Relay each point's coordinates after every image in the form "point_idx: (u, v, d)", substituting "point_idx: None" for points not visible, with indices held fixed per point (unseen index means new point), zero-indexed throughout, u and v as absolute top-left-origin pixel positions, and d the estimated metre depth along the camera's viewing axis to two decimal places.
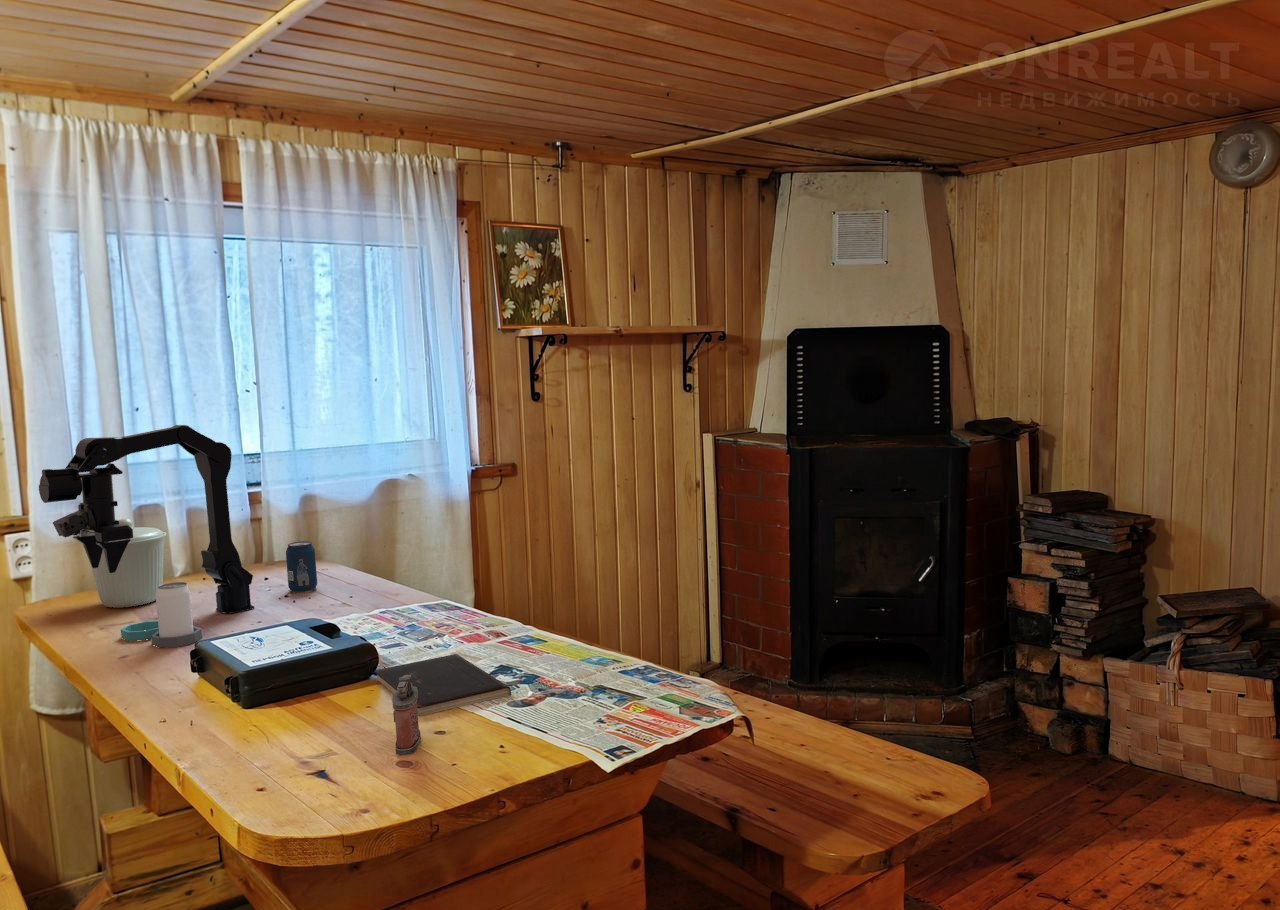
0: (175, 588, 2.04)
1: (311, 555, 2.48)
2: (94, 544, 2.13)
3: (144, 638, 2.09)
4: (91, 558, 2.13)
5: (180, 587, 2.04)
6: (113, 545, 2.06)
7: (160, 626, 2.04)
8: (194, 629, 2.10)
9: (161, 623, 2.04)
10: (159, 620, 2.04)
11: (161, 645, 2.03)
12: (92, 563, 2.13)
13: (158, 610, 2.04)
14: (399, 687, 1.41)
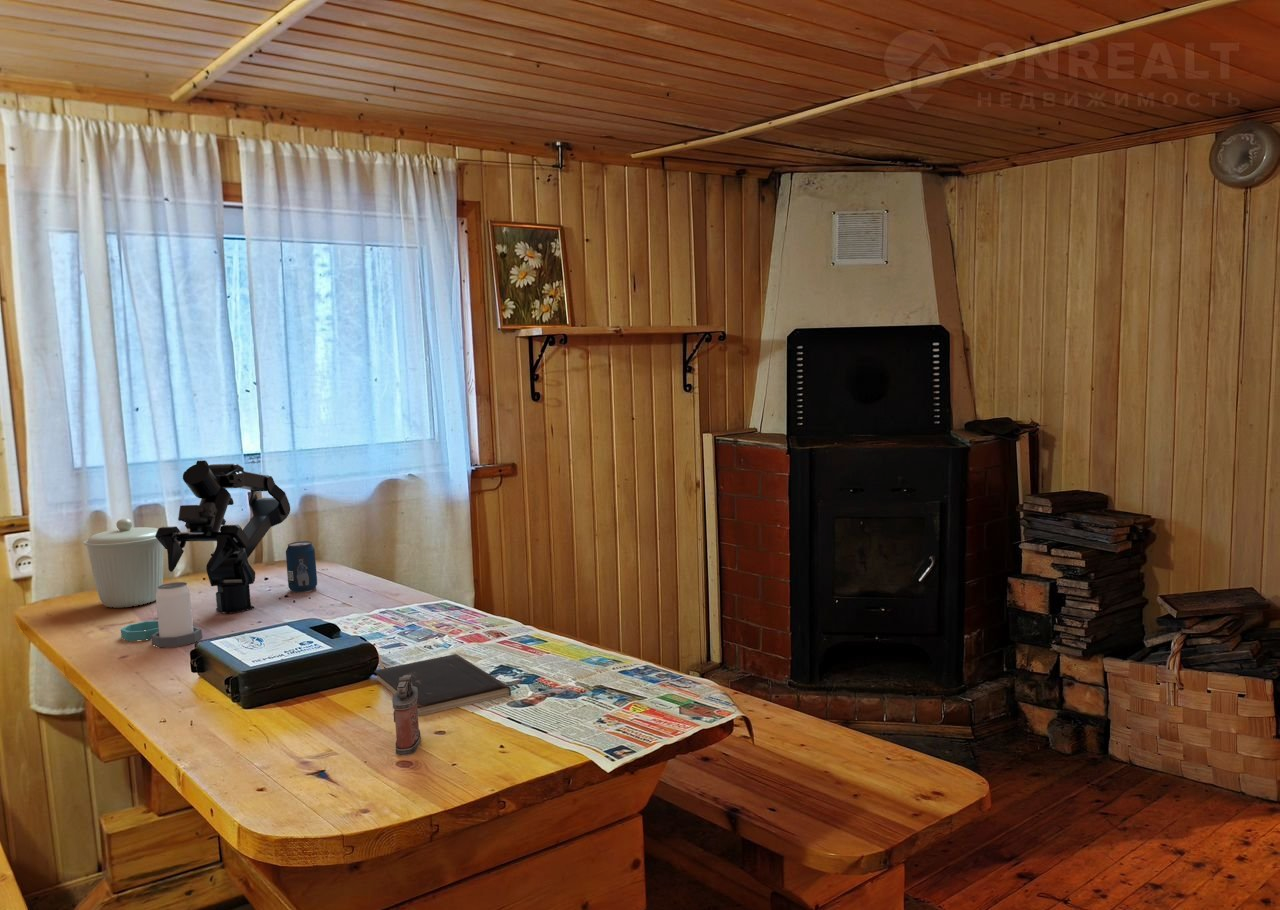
0: (175, 588, 2.04)
1: (311, 555, 2.48)
2: (176, 551, 2.17)
3: (144, 638, 2.09)
4: (172, 560, 2.15)
5: (180, 587, 2.04)
6: (224, 547, 2.17)
7: (160, 626, 2.04)
8: (194, 629, 2.10)
9: (161, 623, 2.04)
10: (159, 620, 2.04)
11: (161, 645, 2.03)
12: (171, 565, 2.14)
13: (158, 610, 2.04)
14: (399, 687, 1.41)
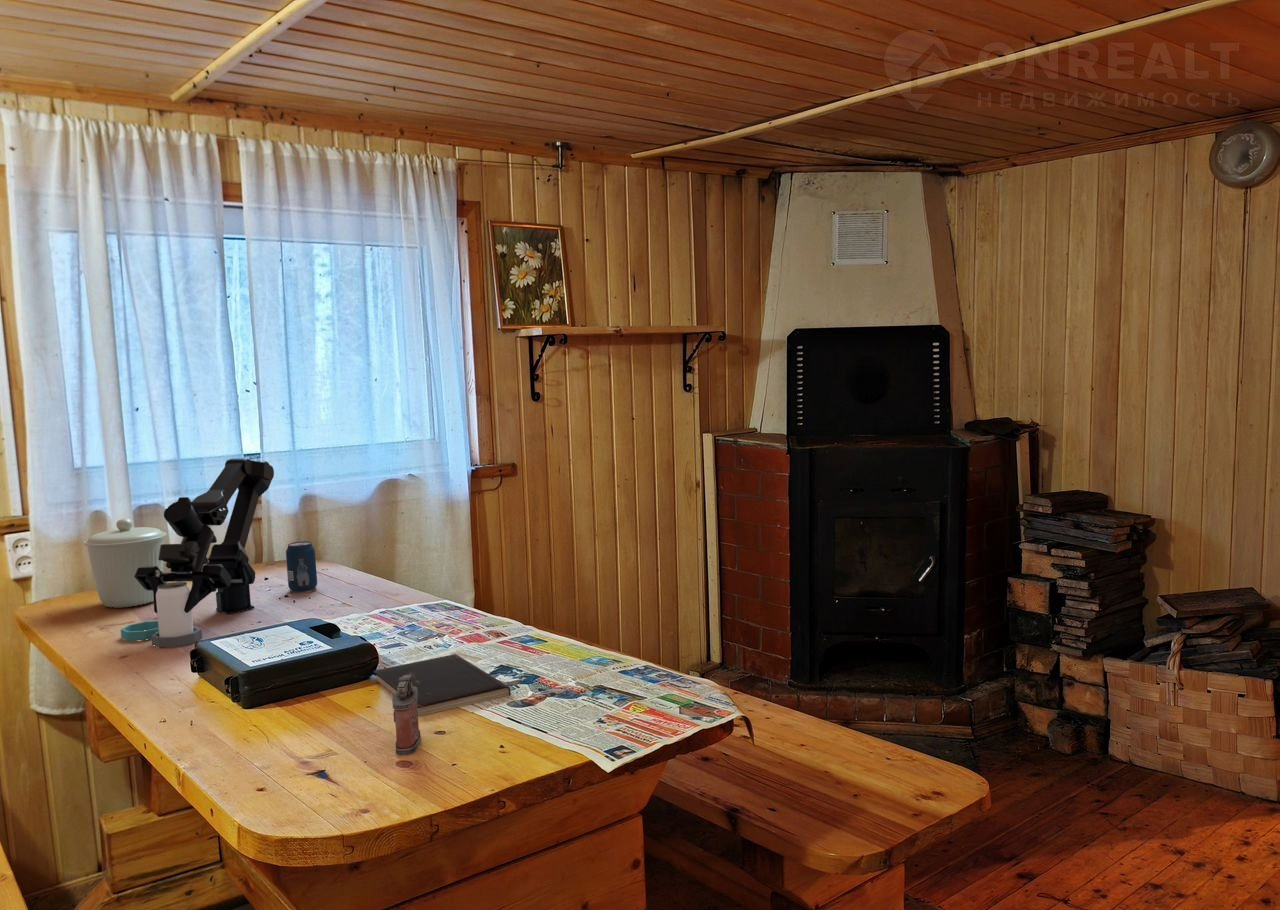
0: (175, 588, 2.04)
1: (311, 555, 2.48)
2: None
3: (144, 638, 2.09)
4: None
5: (180, 587, 2.04)
6: (200, 587, 2.09)
7: (160, 626, 2.04)
8: (194, 629, 2.10)
9: (161, 623, 2.04)
10: (159, 620, 2.04)
11: (161, 645, 2.03)
12: (156, 606, 2.06)
13: (158, 610, 2.04)
14: (399, 687, 1.41)
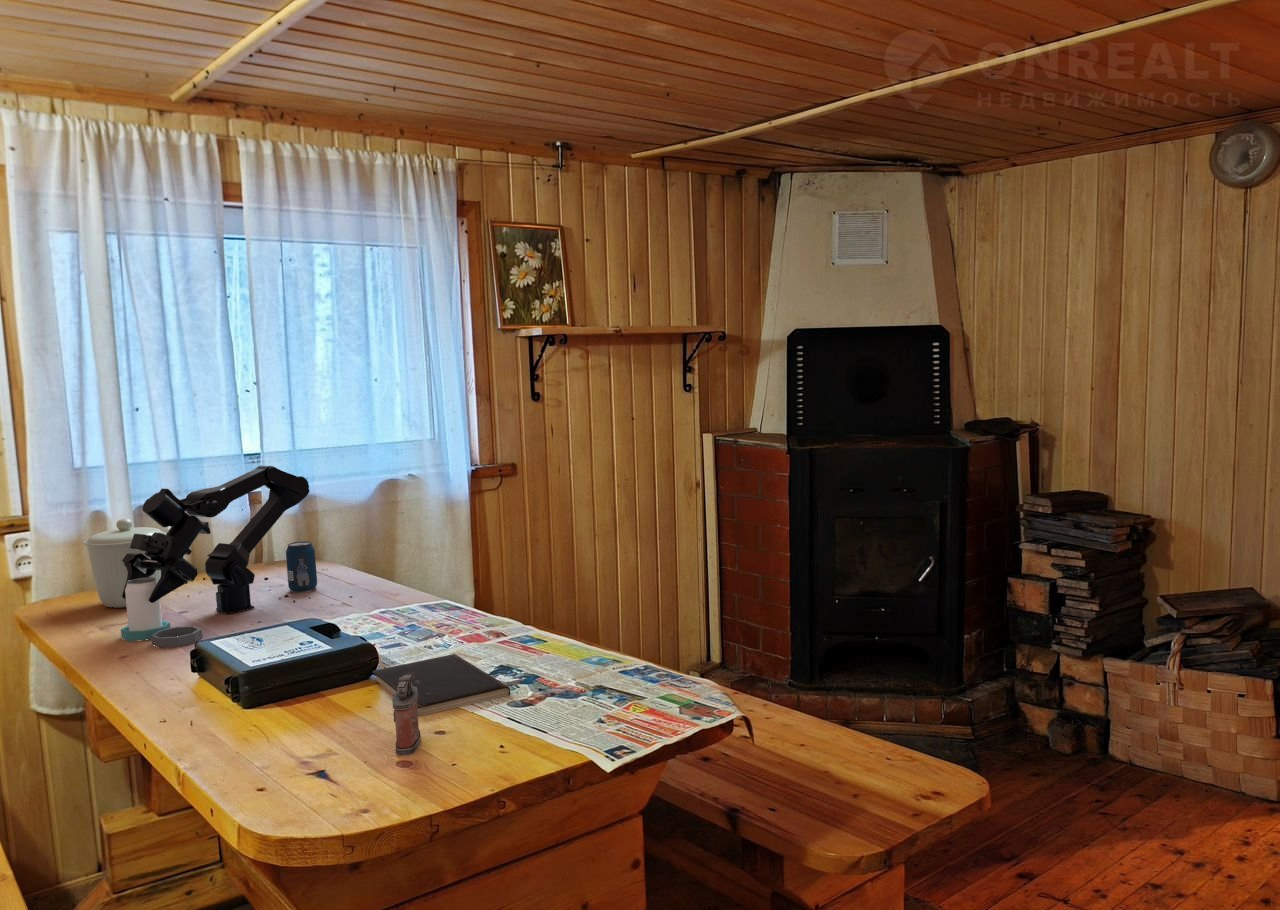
0: (137, 584, 2.09)
1: (311, 555, 2.48)
2: None
3: (144, 638, 2.09)
4: None
5: (143, 583, 2.10)
6: (170, 579, 2.11)
7: (128, 619, 2.11)
8: (194, 629, 2.10)
9: None
10: None
11: (161, 645, 2.03)
12: None
13: None
14: (399, 687, 1.41)
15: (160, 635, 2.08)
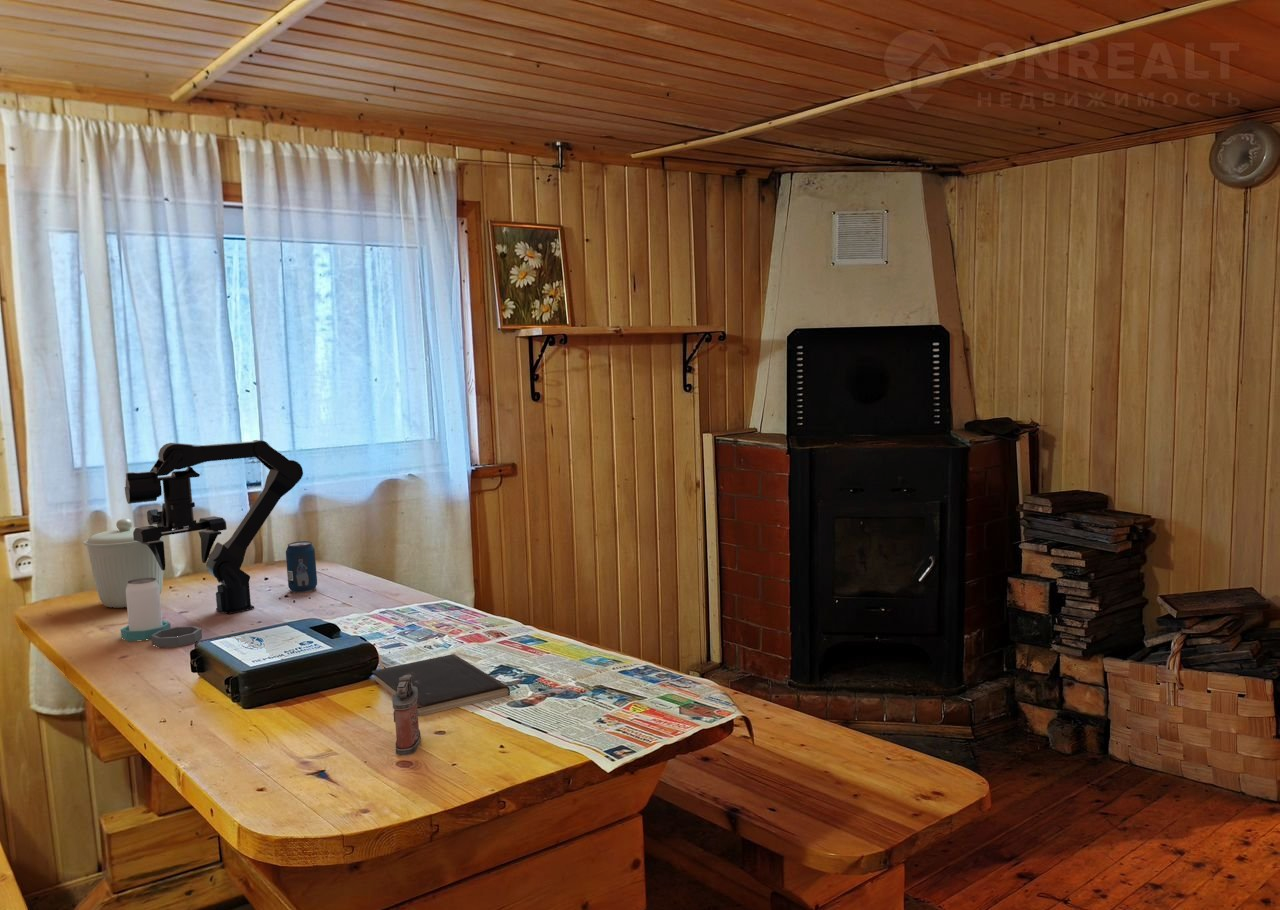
0: (138, 584, 2.09)
1: (310, 556, 2.48)
2: (204, 541, 2.28)
3: (144, 638, 2.09)
4: (201, 553, 2.29)
5: (143, 583, 2.10)
6: None
7: (128, 619, 2.11)
8: (194, 629, 2.10)
9: (128, 616, 2.11)
10: None
11: (161, 645, 2.03)
12: (202, 558, 2.29)
13: None
14: (399, 687, 1.41)
15: (160, 635, 2.08)
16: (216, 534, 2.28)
